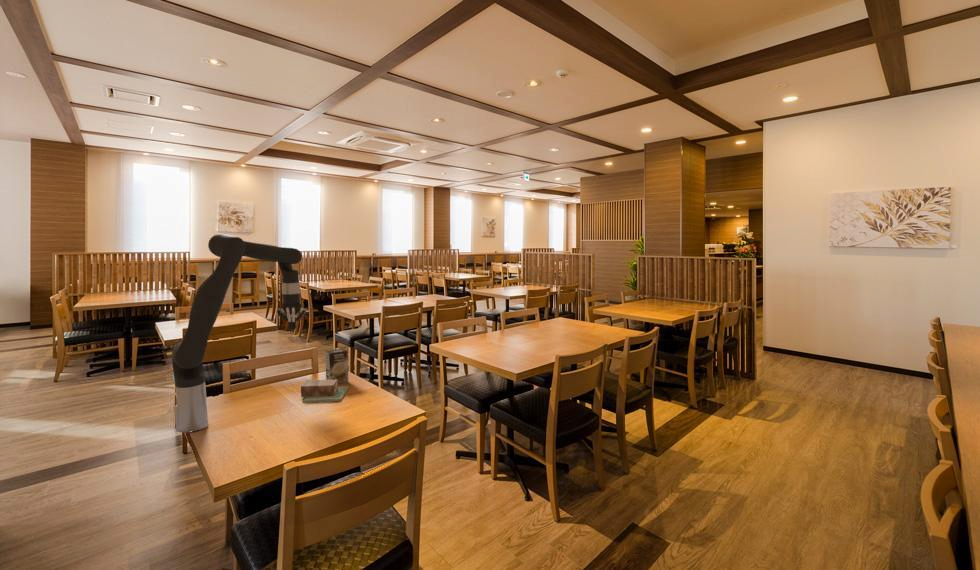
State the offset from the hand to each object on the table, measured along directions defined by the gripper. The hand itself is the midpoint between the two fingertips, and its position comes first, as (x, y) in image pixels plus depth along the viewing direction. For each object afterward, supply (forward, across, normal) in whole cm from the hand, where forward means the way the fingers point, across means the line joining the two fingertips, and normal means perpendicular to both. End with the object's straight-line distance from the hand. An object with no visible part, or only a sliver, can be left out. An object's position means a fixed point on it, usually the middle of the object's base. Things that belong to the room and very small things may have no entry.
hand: (292, 329), depth 199 cm
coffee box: (+30, +16, +11) cm, 35 cm away
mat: (+29, +15, -6) cm, 34 cm away
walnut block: (+26, +6, -6) cm, 27 cm away
